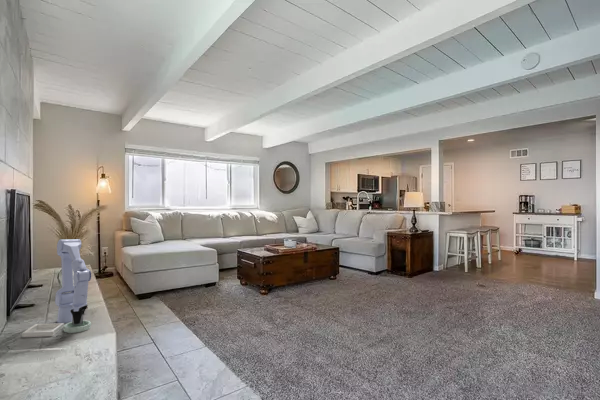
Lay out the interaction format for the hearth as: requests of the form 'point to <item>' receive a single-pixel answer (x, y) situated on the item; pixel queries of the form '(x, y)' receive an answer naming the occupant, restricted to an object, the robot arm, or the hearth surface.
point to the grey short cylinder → (80, 321)
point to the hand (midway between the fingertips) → (78, 322)
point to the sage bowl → (77, 327)
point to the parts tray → (43, 330)
